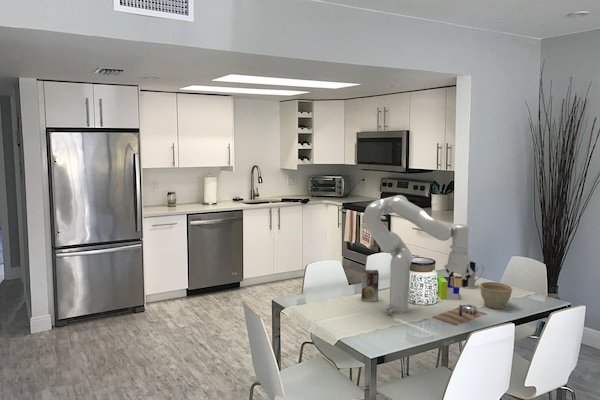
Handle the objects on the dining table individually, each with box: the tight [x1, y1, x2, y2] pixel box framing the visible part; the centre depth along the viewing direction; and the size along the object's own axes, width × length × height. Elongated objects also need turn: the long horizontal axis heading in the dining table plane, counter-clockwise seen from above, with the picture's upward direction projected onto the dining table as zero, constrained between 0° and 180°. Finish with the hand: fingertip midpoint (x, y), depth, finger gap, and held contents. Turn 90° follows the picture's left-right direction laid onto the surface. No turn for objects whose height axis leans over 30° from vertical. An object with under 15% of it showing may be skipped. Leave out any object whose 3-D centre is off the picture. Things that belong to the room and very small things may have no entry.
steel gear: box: [462, 303, 478, 314], centre depth 260 cm, size 7×7×3 cm
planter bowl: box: [480, 281, 513, 309], centre depth 274 cm, size 16×16×11 cm
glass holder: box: [460, 260, 485, 290], centre depth 307 cm, size 9×14×15 cm, turn 100°
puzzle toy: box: [436, 276, 460, 300], centre depth 288 cm, size 10×10×10 cm
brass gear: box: [450, 275, 464, 289], centre depth 250 cm, size 7×7×4 cm
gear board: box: [431, 304, 487, 327], centre depth 255 cm, size 27×14×6 cm, turn 130°
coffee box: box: [360, 269, 380, 302], centre depth 280 cm, size 9×6×16 cm
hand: (458, 284), depth 250 cm, fingers closed on brass gear, 7 cm apart
